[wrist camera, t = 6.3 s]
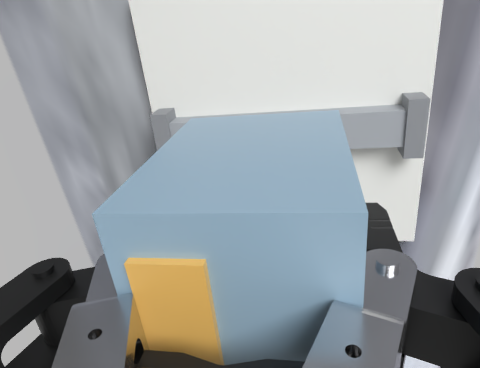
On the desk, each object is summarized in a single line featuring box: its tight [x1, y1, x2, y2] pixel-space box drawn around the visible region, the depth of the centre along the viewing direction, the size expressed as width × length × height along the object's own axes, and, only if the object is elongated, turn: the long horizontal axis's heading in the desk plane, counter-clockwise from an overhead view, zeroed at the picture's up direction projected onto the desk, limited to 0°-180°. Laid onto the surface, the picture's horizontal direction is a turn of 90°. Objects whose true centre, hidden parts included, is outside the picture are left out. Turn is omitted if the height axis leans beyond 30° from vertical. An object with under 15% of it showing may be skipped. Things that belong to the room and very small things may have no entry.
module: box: [92, 110, 368, 365], centre depth 11 cm, size 7×5×7 cm
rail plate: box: [128, 0, 443, 241], centre depth 21 cm, size 16×16×2 cm
